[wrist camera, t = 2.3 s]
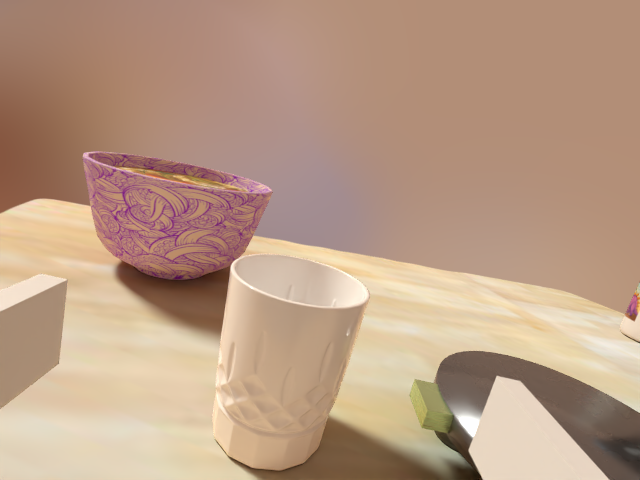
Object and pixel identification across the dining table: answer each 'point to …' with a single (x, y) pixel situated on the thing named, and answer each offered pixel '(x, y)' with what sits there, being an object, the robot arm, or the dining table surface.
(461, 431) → the stand
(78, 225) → the dining table surface
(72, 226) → the dining table surface
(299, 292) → the white cup
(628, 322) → the milk bottle
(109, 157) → the bowl of food
